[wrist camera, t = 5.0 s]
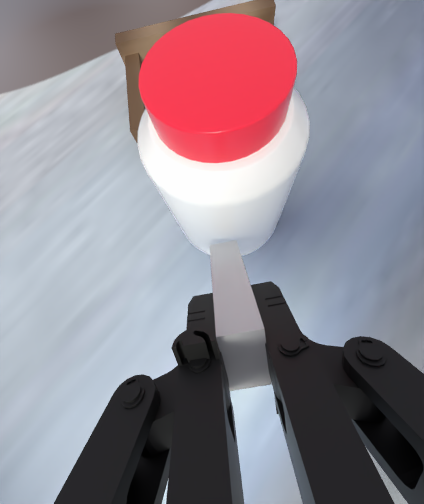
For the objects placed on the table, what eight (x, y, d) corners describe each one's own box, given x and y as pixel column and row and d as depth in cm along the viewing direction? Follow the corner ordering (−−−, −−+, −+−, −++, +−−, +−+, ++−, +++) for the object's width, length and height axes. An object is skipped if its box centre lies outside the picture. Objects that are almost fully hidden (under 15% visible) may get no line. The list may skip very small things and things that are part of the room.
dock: (266, 50, 23) (272, -5, 19) (291, 126, 20) (303, 80, 16) (134, 80, 24) (114, 33, 20) (141, 157, 21) (120, 121, 17)
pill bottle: (228, 151, 20) (217, -34, 10) (300, 208, 18) (386, 51, 8) (159, 212, 19) (66, 80, 9) (227, 280, 17) (211, 213, 7)
